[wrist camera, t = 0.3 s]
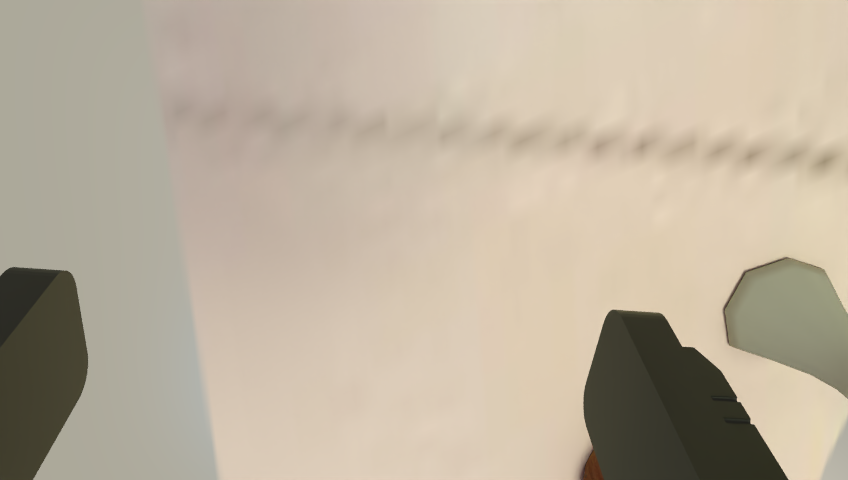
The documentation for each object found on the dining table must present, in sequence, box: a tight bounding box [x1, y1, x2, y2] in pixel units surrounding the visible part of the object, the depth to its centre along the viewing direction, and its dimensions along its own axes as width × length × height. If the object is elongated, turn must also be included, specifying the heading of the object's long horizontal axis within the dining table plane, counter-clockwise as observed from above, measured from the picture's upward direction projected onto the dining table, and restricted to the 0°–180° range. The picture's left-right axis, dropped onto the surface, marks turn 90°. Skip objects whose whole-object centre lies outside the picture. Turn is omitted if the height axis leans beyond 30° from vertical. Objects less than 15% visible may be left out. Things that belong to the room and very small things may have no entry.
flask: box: [725, 258, 848, 398], centre depth 41 cm, size 7×7×10 cm
